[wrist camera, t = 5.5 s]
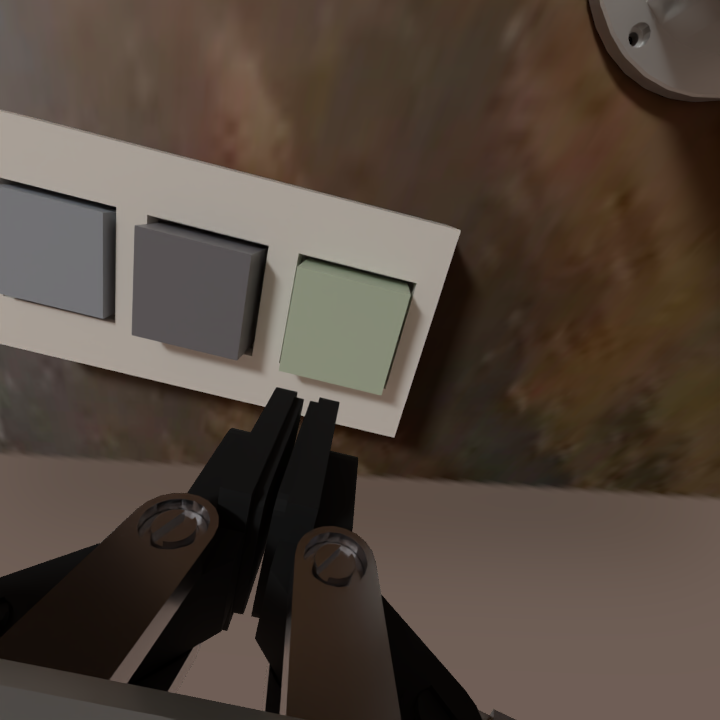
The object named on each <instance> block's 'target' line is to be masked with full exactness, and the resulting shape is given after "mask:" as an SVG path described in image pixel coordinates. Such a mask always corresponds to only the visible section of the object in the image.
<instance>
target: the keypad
mask: <svg viewBox="0 0 720 720" xmlns="http://www.w3.org/2000/svg"><path fill="white" fill-rule="evenodd" d="M0 184H8V185H32V186H36V187H39V188H43V189H47V190H51V191H55V192H59V193H63V194H67V195H71V196H75V197H79V198H83V199H87V200H91V201H95V202H99V203H102V204H106V205H110V206H114V207H116V289H115V314H113V315H111V316H108V317H106V318H104V319H102V318H98V317H94V316H90V315H85V314H81V313H77V312H73V311H69V310H65V309H61V308H57V307H53V306H48V305H44V304H40V303H36V302H32V301H28V300H24V299H20V298H15V297H11V296H7V295H3V294H0V344H3V345H7V346H12V347H16V348H20V349H24V350H28V351H33V352H37V353H41V354H45V355H49V356H54V357H58V358H62V359H66V360H70V361H75V362H79V363H83V364H87V365H91V366H96V367H100V368H104V369H108V370H112V371H117V372H121V373H125V374H129V375H133V376H138V377H142V378H146V379H150V380H154V381H158V382H163V383H167V384H171V385H175V386H179V387H184V388H188V389H192V390H196V391H200V392H205V393H209V394H213V395H217V396H221V397H226V398H230V399H234V400H238V401H242V402H247V403H251V404H255V405H259V406H263V407H265V406H266V405H267V403H268V401H269V399H270V397H271V396H272V394H273V392H274V390H275V389H276V387H279V388H283V389H287V390H292V391H296V392H297V398H302V399H304V403H303V408H302V412H301V416H305V414H306V411H307V408H308V406H309V403H310V401H314V402H318V401H319V398H320V397H321V398H325V399H329V400H333V401H338V402H340V404H339V409H338V414H337V419H336V424H339V425H343V426H347V427H351V428H356V429H360V430H364V431H368V432H372V433H377V434H381V435H385V436H389V437H393V438H394V437H395V434H396V431H397V427H398V424H399V421H400V418H401V415H402V412H403V409H404V406H405V403H406V399H407V396H408V393H409V390H410V387H411V384H412V381H413V378H414V375H415V371H416V368H417V365H418V362H419V359H420V356H421V353H422V350H423V347H424V344H425V340H426V337H427V334H428V331H429V328H430V325H431V322H432V319H433V316H434V312H435V309H436V306H437V303H438V300H439V297H440V294H441V291H442V288H443V284H444V281H445V278H446V275H447V272H448V269H449V266H450V263H451V260H452V256H453V253H454V250H455V247H456V244H457V241H458V238H459V235H460V232H461V230H458V229H456V228H453V227H451V226H448V225H445V224H441V223H437V222H433V221H430V220H426V219H422V218H418V217H414V216H410V215H406V214H403V213H399V212H395V211H391V210H387V209H383V208H380V207H376V206H372V205H368V204H364V203H360V202H357V201H353V200H349V199H345V198H341V197H337V196H334V195H330V194H326V193H322V192H318V191H314V190H310V189H307V188H303V187H299V186H295V185H291V184H287V183H284V182H280V181H276V180H272V179H268V178H264V177H261V176H257V175H253V174H249V173H245V172H241V171H237V170H234V169H230V168H226V167H222V166H218V165H214V164H211V163H207V162H203V161H199V160H195V159H191V158H188V157H184V156H180V155H176V154H172V153H168V152H164V151H161V150H157V149H153V148H149V147H145V146H141V145H138V144H134V143H130V142H126V141H122V140H118V139H115V138H111V137H107V136H103V135H99V134H95V133H91V132H88V131H84V130H80V129H76V128H72V127H68V126H65V125H61V124H57V123H53V122H49V121H45V120H42V119H38V118H34V117H30V116H26V115H21V114H17V113H13V112H9V111H4V110H0ZM162 222H173V223H177V224H181V225H185V226H189V227H193V228H197V229H201V230H204V231H208V232H212V233H216V234H220V235H224V236H228V237H232V238H236V239H240V240H244V241H248V242H252V243H256V244H260V245H264V246H267V247H269V248H268V254H267V261H266V267H265V274H264V281H263V287H262V294H261V301H260V307H259V314H258V321H257V327H256V334H255V341H254V343H253V344H252V345H251V346H250V347H249V348H248V349H247V350H246V351H245V353H244V354H243V355H242V356H241V357H240V358H239V359H238V360H237V361H236V360H232V359H228V358H224V357H220V356H216V355H212V354H208V353H203V352H199V351H195V350H191V349H187V348H183V347H179V346H175V345H170V344H166V343H162V342H158V341H154V340H150V339H146V338H142V337H137V336H133V335H132V301H133V264H134V227H135V225H142V224H152V223H162ZM309 257H311V258H315V259H319V260H323V261H327V262H331V263H334V264H338V265H342V266H346V267H350V268H354V269H358V270H362V271H366V272H370V273H374V274H378V275H382V276H386V277H390V278H394V279H398V280H401V281H405V282H407V284H408V287H409V291H410V294H411V296H410V299H409V303H408V306H407V310H406V313H405V317H404V320H403V323H402V327H401V330H400V334H399V337H398V340H397V344H396V347H395V351H394V354H393V357H392V361H391V364H390V368H389V371H388V374H387V378H386V381H385V385H384V388H383V391H382V395H377V394H373V393H369V392H364V391H360V390H356V389H352V388H348V387H344V386H340V385H336V384H331V383H327V382H323V381H319V380H315V379H311V378H307V377H303V376H298V375H294V374H290V373H286V372H282V371H279V366H280V361H281V355H282V350H283V344H284V338H285V333H286V327H287V322H288V316H289V311H290V305H291V300H292V294H293V288H294V283H295V277H296V272H297V266H299V265H300V264H301V263H303V262H304V261H305V260H306V259H308V258H309Z"/></svg>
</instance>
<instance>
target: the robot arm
mask: <svg viewBox="0 0 720 720" xmlns="http://www.w3.org/2000/svg"><path fill="white" fill-rule="evenodd" d="M589 4H590V8H591V12H592V16H593V19H594V23H595V27H596V29H597V31H598V33H599V35H600V38H601V40H602V42H603V44H604V46H605V48H606V50H607V52H608V54H609V55H610V56H611V57H612V58H613V60H614V61H615V62H616V63H617V65H618V66H619V67H620V68H621V70H622V71H623V72H624V73H625V74H626V75H627V76H629V77H630V78H631V79H633V80H634V81H635V82H637V83H638V84H639V85H641V86H642V87H643V88H645V89H647V90H649V91H652V92H654V93H657V94H659V95H661V96H664V97H666V98H670V99H676V100H682V101H689V102H705V101H720V0H589ZM629 36H630V37H631V38H632V40H633V43H632V45H630V43H629V39H628V38H629ZM303 403H304V399H302V398H297V392H296V391H292V390H287V389H283V388H279V387H276V389H275V390H274V392H273V394H272V396H271V397H270V399H269V401H268V403H267V405H266V406H265V408H264V410H263V412H262V413H261V415H260V417H259V419H258V421H257V422H256V424H255V426H254V428H253V429H252V431H251V432H247V431H243V430H239V429H234V428H231V429H230V430H229V431H228V433H227V434H226V436H225V437H224V439H223V440H222V442H221V443H220V445H219V446H218V448H217V449H216V451H215V452H214V454H213V455H212V457H211V458H210V460H209V461H208V463H207V464H206V466H205V467H204V469H203V470H202V472H201V473H200V475H199V476H198V478H197V479H196V481H195V482H194V484H193V485H192V487H191V488H190V490H189V491H188V493H171V494H166V495H161V496H158V497H156V498H154V499H151V500H149V501H147V502H146V503H144V504H143V505H141V506H140V507H139V508H137V509H136V510H135V511H134V512H133V513H132V514H131V515H130V516H129V517H128V518H127V519H126V520H124V521H123V522H122V523H121V524H120V525H119V526H118V527H117V528H116V529H115V530H114V531H113V532H112V533H111V534H110V535H109V536H107V538H105V539H104V540H103V541H102V542H101V543H99V544H96V545H93V546H90V547H87V548H84V549H81V550H79V551H76V552H73V553H70V554H67V555H64V556H61V557H58V558H55V559H53V560H49V561H47V562H44V563H41V564H38V565H35V566H32V567H29V568H26V569H23V570H21V571H18V572H15V573H12V574H9V575H6V576H3V577H1V578H0V720H515V719H513V718H511V717H509V716H507V715H505V714H502V713H500V712H498V711H496V710H493V711H492V712H491V714H490V715H488V714H486V713H483V712H481V711H479V710H478V709H477V707H476V705H475V703H474V702H473V701H472V699H471V698H470V696H469V695H468V694H467V692H466V691H465V689H464V688H463V687H462V686H461V685H460V684H459V683H458V682H457V680H456V679H455V678H454V677H453V676H452V675H451V673H450V672H449V671H448V670H447V669H446V668H445V667H444V665H443V664H442V663H441V662H440V661H439V660H438V659H437V658H436V656H435V655H434V654H433V653H432V652H431V651H430V650H429V649H428V647H427V646H426V645H425V644H424V643H423V642H422V640H421V639H420V638H419V637H418V636H417V635H416V634H415V632H414V631H413V630H412V629H411V628H410V627H409V626H408V624H407V623H406V622H405V621H404V620H403V619H402V618H401V616H400V615H399V614H398V613H397V612H396V611H395V610H394V608H393V607H392V606H391V605H390V604H389V603H388V602H387V601H386V599H385V598H384V597H383V596H382V595H381V591H380V585H379V579H378V573H377V566H376V561H375V558H374V555H373V552H372V550H371V549H370V547H369V546H368V545H367V543H366V542H365V541H364V540H363V539H362V538H361V537H359V536H358V535H357V534H355V533H353V532H352V528H353V516H354V504H355V492H356V491H355V490H356V480H357V467H358V457H355V456H350V455H346V454H342V453H337V452H333V451H330V449H331V444H332V439H333V434H334V429H335V424H336V419H337V414H338V409H339V404H340V402H338V401H333V400H329V399H325V398H321V397H320V398H319V401H318V402H314V401H310V403H309V406H308V408H307V411H306V414H305V417H304V420H303V423H302V426H301V428H300V431H299V434H298V437H297V440H296V435H297V431H298V426H299V421H300V417H301V412H302V408H303ZM295 440H296V443H295ZM294 445H295V446H294ZM264 551H265V552H264ZM263 554H264V557H263V562H262V567H261V571H260V577H259V581H258V586H257V591H256V595H255V600H254V605H253V611H252V616H253V617H258V618H259V623H258V627H257V632H256V637H255V639H256V641H257V643H258V644H259V646H260V648H261V650H262V651H263V653H264V655H265V657H266V658H267V660H268V666H267V670H266V677H265V686H264V696H263V706H262V711H260V710H255V709H250V708H245V707H240V706H235V705H231V704H226V703H221V702H216V701H211V700H206V699H201V698H196V697H191V696H186V695H181V694H176V693H177V691H178V689H179V687H180V685H181V684H182V682H183V680H184V678H185V677H186V675H187V673H188V671H189V670H190V668H191V666H192V664H193V662H194V661H195V659H196V657H197V654H198V651H199V649H200V646H201V643H202V642H204V641H205V640H207V639H209V638H211V637H212V636H214V635H216V634H217V633H219V632H221V631H222V630H226V631H227V630H228V627H229V624H230V621H231V619H232V615H233V613H238V614H243V613H244V611H245V608H246V605H247V602H248V599H249V596H250V593H251V590H252V587H253V584H254V581H255V578H256V574H257V572H258V569H259V566H260V563H261V559H262V556H263Z"/></svg>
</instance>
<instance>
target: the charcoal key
mask: <svg viewBox="0 0 720 720" xmlns="http://www.w3.org/2000/svg"><path fill="white" fill-rule="evenodd" d="M268 248H269V247H267V246H264V245H260V244H256V243H252V242H248V241H244V240H240V239H236V238H232V237H228V236H224V235H220V234H216V233H212V232H208V231H204V230H201V229H197V228H193V227H189V226H185V225H181V224H177V223H173V222H162V223H152V224H142V225H135V227H134V264H133V301H132V335H133V336H137V337H142V338H146V339H150V340H154V341H158V342H162V343H166V344H170V345H175V346H179V347H183V348H187V349H191V350H195V351H199V352H203V353H208V354H212V355H216V356H220V357H224V358H228V359H232V360H236V361H237V360H238V359H239V358H240V357H241V356H242V355H243V354H244V353H245V351H246V350H247V349H248V348H249V347H250V346H251V345H252V344H253V343H254V341H255V334H256V327H257V321H258V314H259V307H260V301H261V294H262V287H263V281H264V274H265V267H266V261H267V254H268Z"/></svg>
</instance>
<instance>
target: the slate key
mask: <svg viewBox="0 0 720 720" xmlns="http://www.w3.org/2000/svg"><path fill="white" fill-rule="evenodd" d="M115 289H116V207H114V206H110V205H106V204H102V203H99V202H95V201H91V200H87V199H83V198H79V197H75V196H71V195H67V194H63V193H59V192H55V191H51V190H47V189H43V188H39V187H36V186H32V185H8V184H0V294H3V295H7V296H11V297H15V298H20V299H24V300H28V301H32V302H36V303H40V304H44V305H48V306H53V307H57V308H61V309H65V310H69V311H73V312H77V313H81V314H85V315H90V316H94V317H98V318H102V319H104V318H106V317H108V316H111V315H113V314H115Z"/></svg>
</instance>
